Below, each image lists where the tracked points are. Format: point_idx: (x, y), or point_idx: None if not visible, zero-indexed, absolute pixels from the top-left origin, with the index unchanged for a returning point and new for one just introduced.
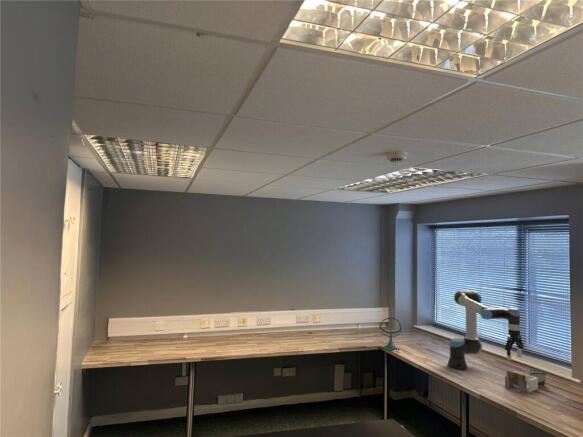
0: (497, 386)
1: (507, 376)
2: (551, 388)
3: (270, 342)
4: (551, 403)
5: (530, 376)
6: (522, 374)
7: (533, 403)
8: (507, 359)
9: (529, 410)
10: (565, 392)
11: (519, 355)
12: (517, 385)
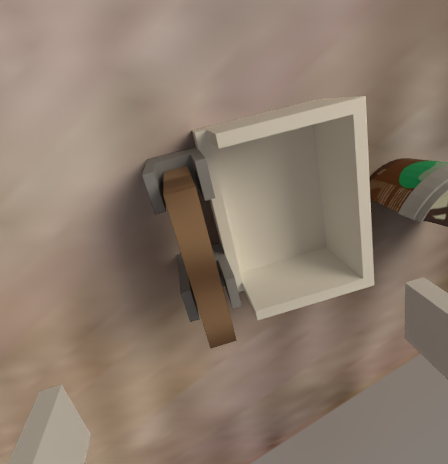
0: (77, 144)
1: (158, 191)
2: (417, 255)
3: None
4: (207, 406)
5: (360, 242)
6: (229, 319)
7: (107, 401)
8: (42, 399)
9: None
10: None
11: (432, 341)
12: (215, 217)
